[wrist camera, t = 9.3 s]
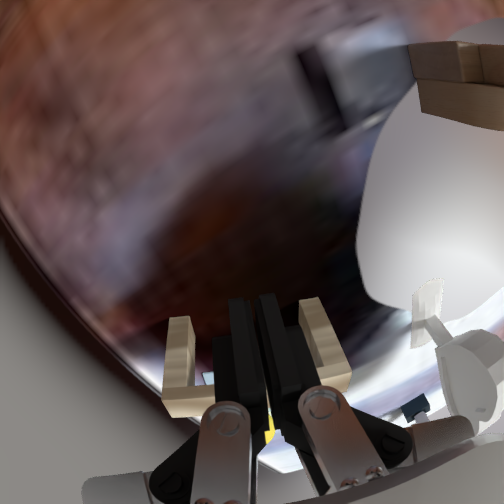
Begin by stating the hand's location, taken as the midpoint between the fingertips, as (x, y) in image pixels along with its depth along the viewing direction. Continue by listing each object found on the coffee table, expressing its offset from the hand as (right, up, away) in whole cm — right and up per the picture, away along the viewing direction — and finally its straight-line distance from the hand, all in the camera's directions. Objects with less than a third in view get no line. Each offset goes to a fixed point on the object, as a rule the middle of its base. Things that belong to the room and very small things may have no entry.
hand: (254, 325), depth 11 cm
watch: (+34, -29, +38) cm, 59 cm away
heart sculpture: (+23, -6, +24) cm, 34 cm away
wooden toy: (+21, +20, +8) cm, 30 cm away
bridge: (-1, -4, +19) cm, 19 cm away
